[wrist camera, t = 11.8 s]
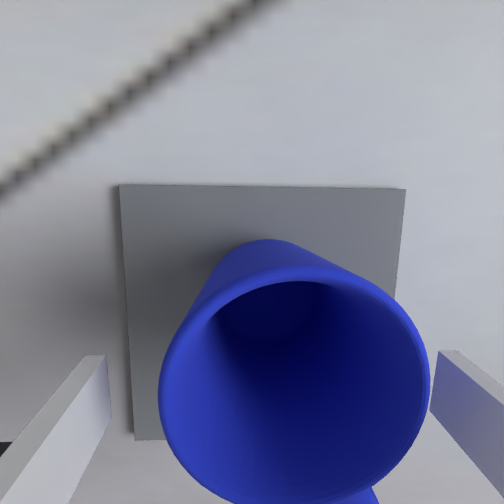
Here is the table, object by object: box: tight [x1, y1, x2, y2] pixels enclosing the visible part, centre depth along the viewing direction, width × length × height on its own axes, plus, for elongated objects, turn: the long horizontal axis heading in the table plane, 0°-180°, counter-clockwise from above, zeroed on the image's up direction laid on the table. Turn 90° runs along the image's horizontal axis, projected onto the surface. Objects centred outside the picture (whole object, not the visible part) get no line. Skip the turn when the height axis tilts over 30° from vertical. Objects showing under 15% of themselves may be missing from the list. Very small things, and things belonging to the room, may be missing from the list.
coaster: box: [119, 185, 406, 441], centre depth 20 cm, size 16×16×1 cm
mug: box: [158, 239, 430, 504], centre depth 15 cm, size 8×12×10 cm
